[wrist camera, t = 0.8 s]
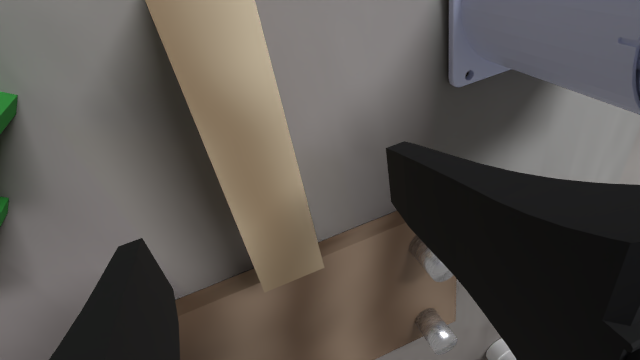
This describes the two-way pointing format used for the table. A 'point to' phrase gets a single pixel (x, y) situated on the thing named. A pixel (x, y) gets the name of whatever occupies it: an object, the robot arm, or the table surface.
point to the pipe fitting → (499, 351)
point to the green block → (3, 110)
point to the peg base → (329, 304)
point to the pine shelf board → (242, 129)
